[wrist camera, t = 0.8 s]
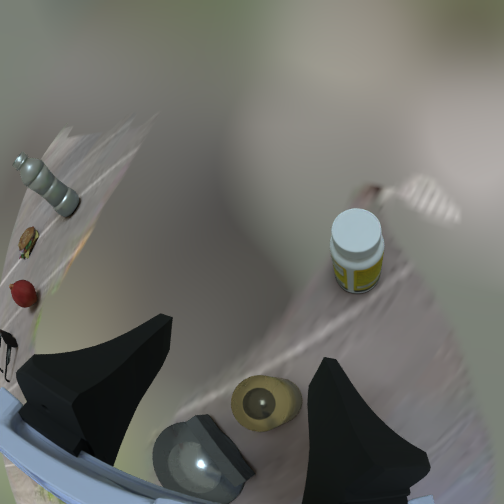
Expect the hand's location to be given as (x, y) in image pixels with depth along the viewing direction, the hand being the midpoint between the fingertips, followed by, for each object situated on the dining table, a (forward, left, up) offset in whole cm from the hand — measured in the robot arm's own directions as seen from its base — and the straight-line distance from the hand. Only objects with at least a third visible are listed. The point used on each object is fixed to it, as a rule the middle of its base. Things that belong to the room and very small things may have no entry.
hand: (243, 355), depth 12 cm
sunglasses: (-2, +66, -15) cm, 68 cm away
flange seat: (-11, +11, -15) cm, 21 cm away
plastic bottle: (+35, +49, -15) cm, 63 cm away
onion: (+12, +54, -15) cm, 58 cm away
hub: (-3, +2, -15) cm, 15 cm away
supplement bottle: (+9, -7, -15) cm, 19 cm away
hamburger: (+29, +72, -16) cm, 79 cm away
